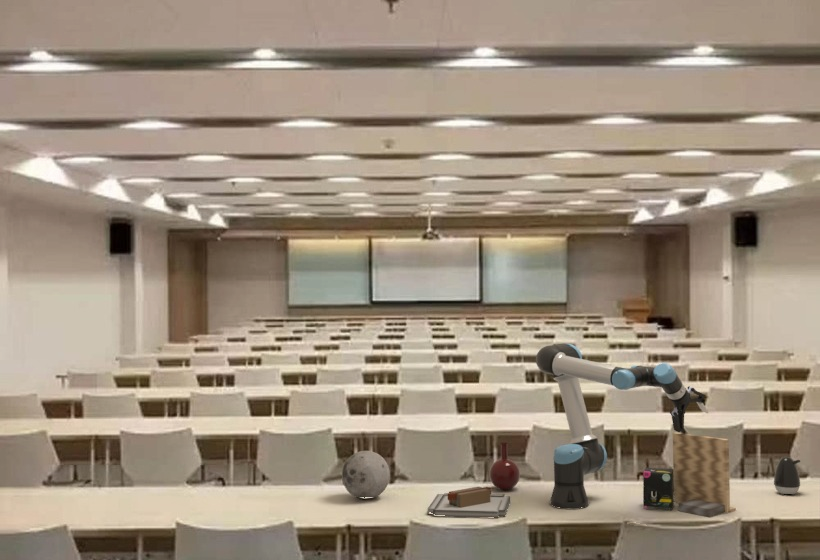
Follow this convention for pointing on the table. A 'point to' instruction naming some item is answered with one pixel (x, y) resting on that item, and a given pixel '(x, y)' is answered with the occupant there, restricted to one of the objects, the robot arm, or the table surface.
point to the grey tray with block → (470, 503)
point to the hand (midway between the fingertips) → (696, 423)
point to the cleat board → (701, 474)
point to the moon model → (365, 474)
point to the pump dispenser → (787, 476)
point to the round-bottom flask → (504, 471)
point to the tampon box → (658, 488)
